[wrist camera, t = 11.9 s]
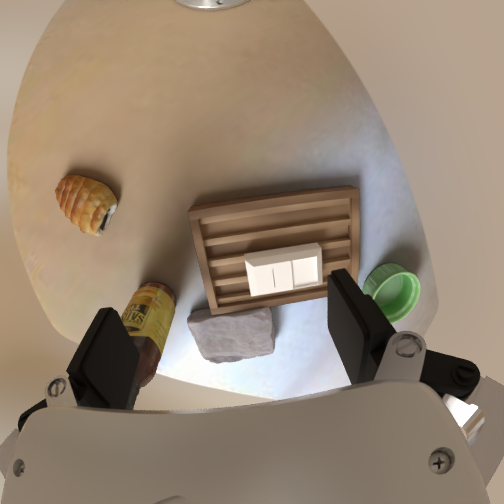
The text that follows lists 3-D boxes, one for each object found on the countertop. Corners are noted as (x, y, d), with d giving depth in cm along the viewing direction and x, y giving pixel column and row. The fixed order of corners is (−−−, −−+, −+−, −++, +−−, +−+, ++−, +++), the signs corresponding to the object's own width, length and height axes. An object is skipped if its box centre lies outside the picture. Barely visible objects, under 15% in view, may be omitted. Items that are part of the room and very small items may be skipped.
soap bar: (244, 254, 33) (245, 263, 30) (317, 242, 33) (323, 250, 30) (250, 289, 35) (251, 300, 32) (318, 277, 35) (324, 287, 32)
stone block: (276, 334, 43) (268, 290, 37) (281, 358, 39) (272, 316, 33) (206, 345, 43) (185, 305, 38) (205, 369, 39) (182, 331, 34)
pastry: (56, 204, 30) (41, 211, 27) (72, 160, 28) (56, 164, 25) (105, 236, 33) (93, 247, 29) (125, 193, 31) (113, 199, 27)
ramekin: (367, 318, 41) (378, 334, 37) (351, 279, 38) (363, 294, 33) (410, 290, 39) (424, 304, 35) (399, 248, 36) (415, 260, 32)
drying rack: (190, 206, 32) (187, 211, 30) (350, 185, 32) (358, 188, 30) (212, 304, 37) (211, 315, 35) (350, 281, 38) (357, 290, 35)
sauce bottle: (157, 271, 35) (105, 386, 17) (186, 304, 37) (161, 426, 19) (126, 293, 36) (69, 400, 18) (154, 323, 38) (118, 435, 20)
